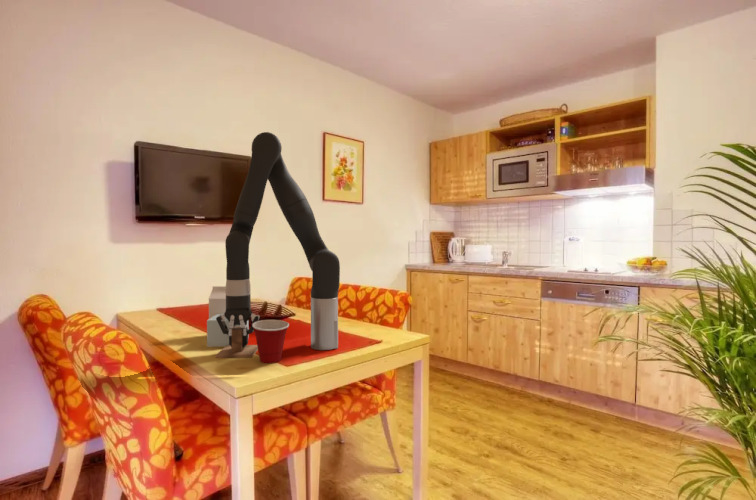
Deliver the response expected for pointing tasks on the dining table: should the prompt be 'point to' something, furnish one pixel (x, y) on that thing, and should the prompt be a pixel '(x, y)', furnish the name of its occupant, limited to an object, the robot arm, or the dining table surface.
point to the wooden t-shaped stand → (237, 347)
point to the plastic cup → (270, 339)
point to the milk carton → (217, 301)
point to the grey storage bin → (217, 332)
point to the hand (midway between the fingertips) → (238, 346)
